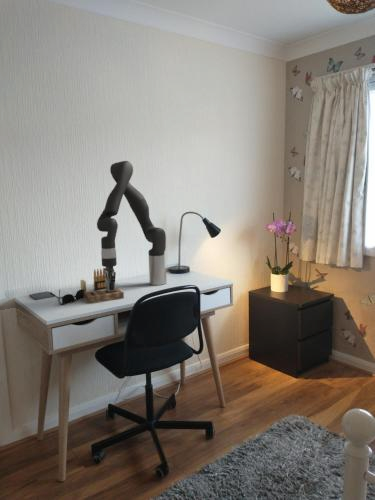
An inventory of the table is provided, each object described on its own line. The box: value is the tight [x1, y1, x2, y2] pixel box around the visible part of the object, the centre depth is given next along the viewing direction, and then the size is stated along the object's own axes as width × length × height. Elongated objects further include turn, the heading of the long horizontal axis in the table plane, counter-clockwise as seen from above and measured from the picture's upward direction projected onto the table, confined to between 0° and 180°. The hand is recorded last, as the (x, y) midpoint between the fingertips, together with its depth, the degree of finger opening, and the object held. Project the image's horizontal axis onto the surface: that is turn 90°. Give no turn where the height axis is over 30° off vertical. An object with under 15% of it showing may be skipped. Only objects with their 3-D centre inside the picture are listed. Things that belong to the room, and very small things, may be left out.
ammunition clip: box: [93, 267, 106, 291], centre depth 229 cm, size 11×2×12 cm, turn 122°
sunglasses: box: [49, 288, 84, 306], centre depth 209 cm, size 17×14×5 cm
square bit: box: [105, 277, 116, 293], centre depth 211 cm, size 4×4×8 cm
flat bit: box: [80, 279, 87, 292], centre depth 216 cm, size 2×4×8 cm, turn 30°
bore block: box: [83, 287, 125, 304], centre depth 210 cm, size 18×12×3 cm, turn 117°
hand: (110, 288), depth 212 cm, fingers closed on square bit, 4 cm apart
